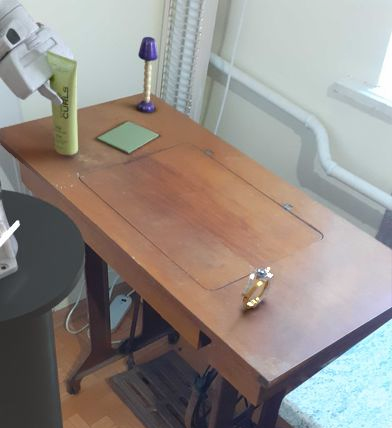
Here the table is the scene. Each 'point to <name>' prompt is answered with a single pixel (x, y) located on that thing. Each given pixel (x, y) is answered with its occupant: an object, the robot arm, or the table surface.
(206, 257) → the table surface
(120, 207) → the table surface
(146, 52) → the toy lamp
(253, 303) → the ring
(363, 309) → the table surface
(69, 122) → the tube
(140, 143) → the mat
